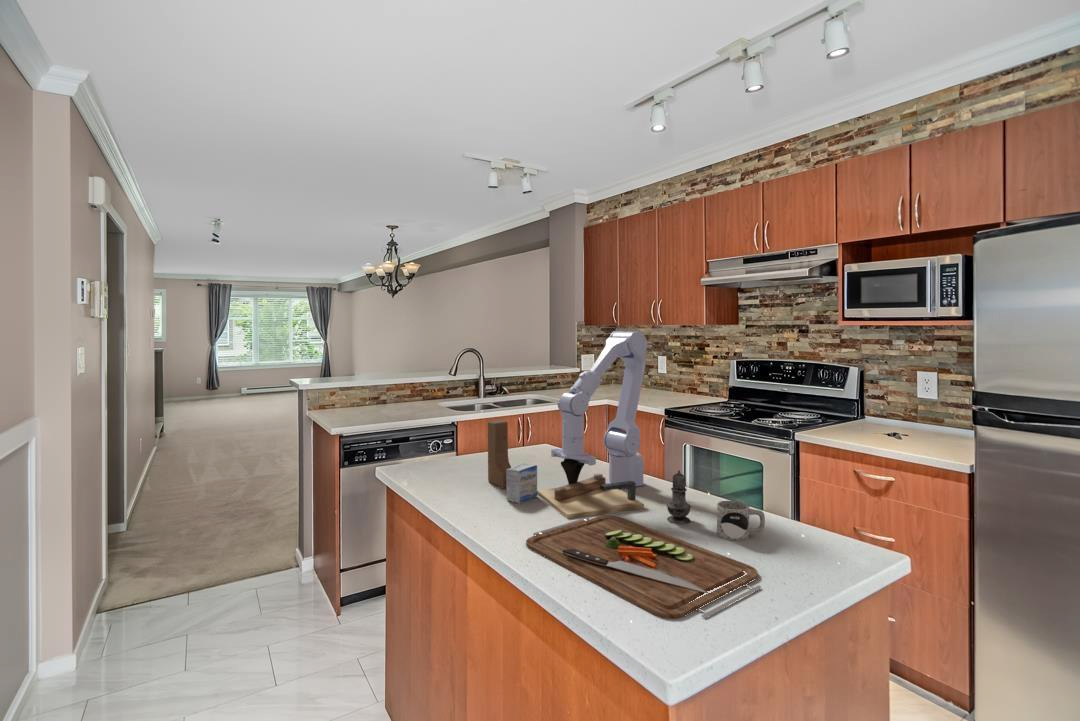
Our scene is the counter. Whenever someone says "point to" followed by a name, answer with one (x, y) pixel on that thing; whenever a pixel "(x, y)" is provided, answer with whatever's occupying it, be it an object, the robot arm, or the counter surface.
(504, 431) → the wooden block
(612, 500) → the oak board
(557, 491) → the link
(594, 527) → the chopping board
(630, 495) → the bar
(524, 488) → the medicine box
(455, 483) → the counter surface
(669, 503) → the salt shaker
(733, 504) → the mug
